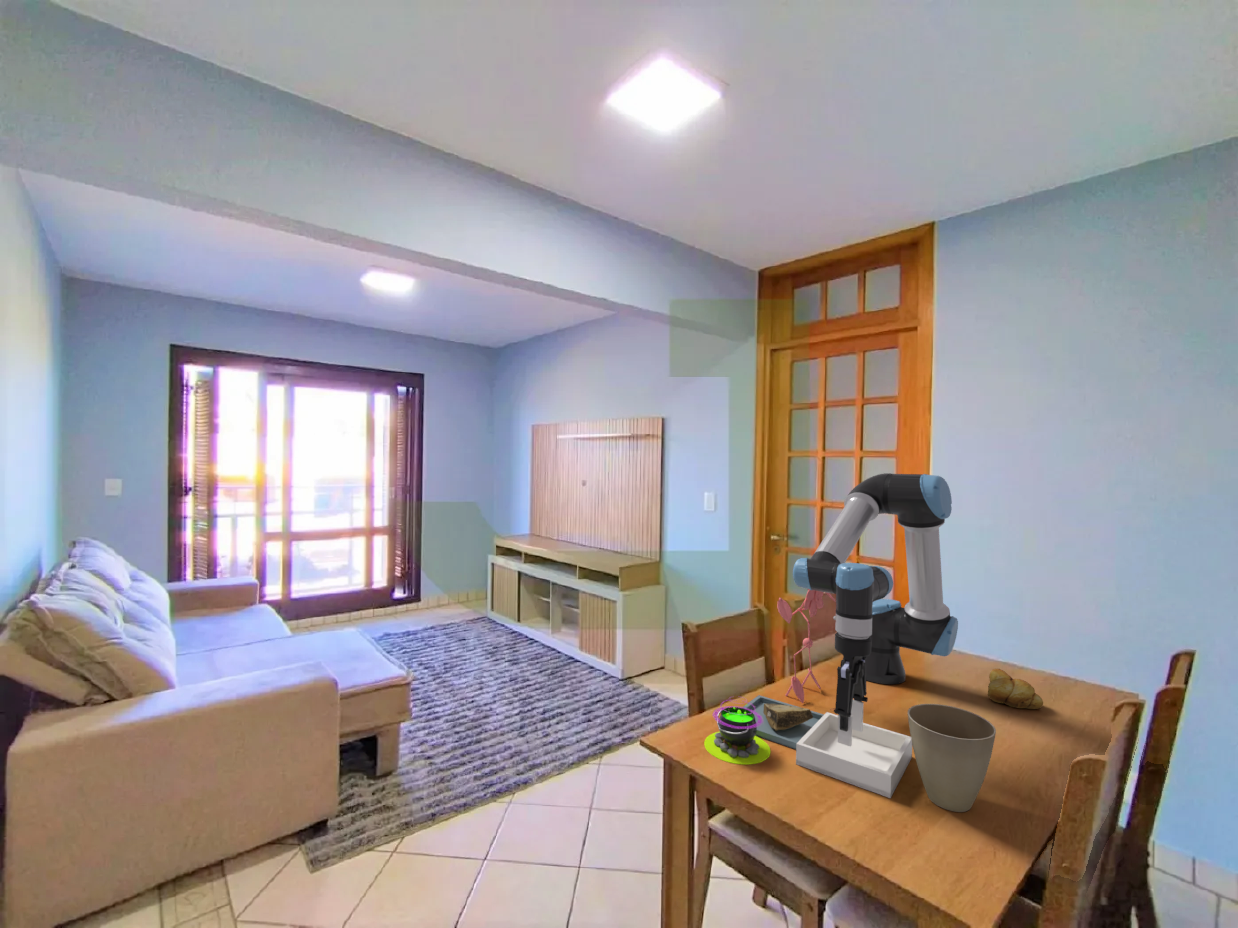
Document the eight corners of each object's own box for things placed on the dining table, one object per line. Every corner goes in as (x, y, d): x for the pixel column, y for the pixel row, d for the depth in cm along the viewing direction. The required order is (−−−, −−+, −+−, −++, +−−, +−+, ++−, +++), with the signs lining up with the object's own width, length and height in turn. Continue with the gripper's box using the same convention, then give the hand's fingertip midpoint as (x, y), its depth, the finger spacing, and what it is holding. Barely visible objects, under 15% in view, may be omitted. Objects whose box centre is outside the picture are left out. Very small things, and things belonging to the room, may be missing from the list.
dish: (826, 730, 138) (826, 711, 138) (911, 756, 126) (912, 737, 126) (795, 763, 122) (796, 743, 122) (890, 798, 110) (891, 775, 110)
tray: (758, 700, 154) (758, 694, 154) (828, 721, 142) (828, 715, 142) (726, 725, 139) (726, 719, 139) (801, 751, 127) (801, 744, 127)
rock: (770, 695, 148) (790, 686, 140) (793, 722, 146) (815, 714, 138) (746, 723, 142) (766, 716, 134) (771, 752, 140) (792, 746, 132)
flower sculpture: (767, 703, 152) (770, 575, 152) (811, 678, 170) (813, 563, 170) (822, 723, 141) (825, 585, 141) (862, 694, 160) (865, 571, 159)
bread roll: (1046, 707, 153) (1047, 678, 153) (1037, 717, 147) (1038, 687, 147) (991, 692, 163) (992, 664, 163) (981, 701, 157) (981, 672, 157)
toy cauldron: (692, 737, 133) (693, 690, 133) (746, 727, 139) (747, 683, 139) (725, 770, 119) (726, 719, 119) (784, 758, 125) (785, 709, 124)
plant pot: (915, 770, 120) (917, 696, 120) (998, 798, 111) (1000, 718, 111) (896, 802, 109) (898, 721, 109) (987, 837, 99) (990, 747, 99)
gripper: (849, 620, 135) (847, 715, 135) (820, 641, 119) (817, 748, 119) (883, 627, 130) (880, 725, 130) (857, 649, 114) (854, 761, 114)
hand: (850, 736), depth 125 cm, fingers open, 8 cm apart
